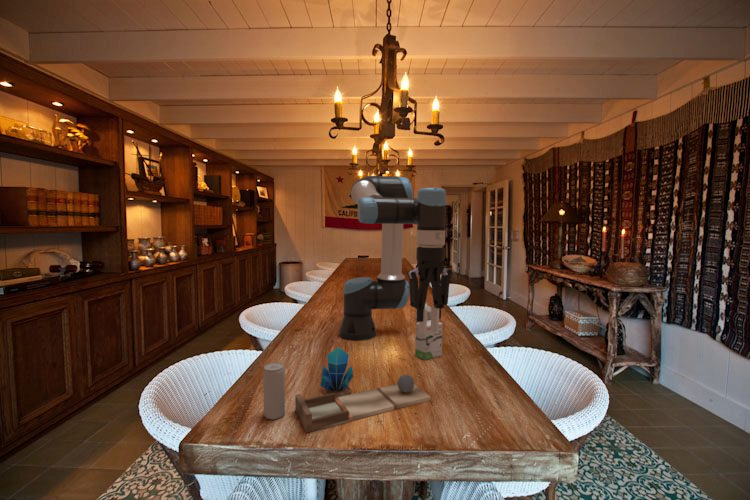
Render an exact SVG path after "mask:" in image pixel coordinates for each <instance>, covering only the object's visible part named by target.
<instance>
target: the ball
mask: <svg viewBox="0 0 750 500" xmlns="http://www.w3.org/2000/svg"><path fill="white" fill-rule="evenodd" d="M397 384H398V388H399V389H400V390H401V391H402V392H404V393H408V392H410V391H412V390H413V388H414V384H415V381H414V378H413V377H412V376H410V375H409V374H403V375H401V376H400V377H399V378H398V379H397Z"/></svg>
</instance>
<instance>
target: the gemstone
mask: <svg viewBox="0 0 750 500" xmlns="http://www.w3.org/2000/svg"><path fill="white" fill-rule="evenodd" d="M326 357H327V358H326V359H327V367H326V366H325V365H324V364H323V365H322V371H321V379H320V384H319V386H320V387H321V388H324V390H323V395H326V394H331V393H335V398H337V397H341V396H346V395H350V394H352V393H351V391H352V390H351V387H350V386H349V384H350V383H351V381H352V379H353V378H354V368H353V365H351V366H349V368H348V369H347V366H348V365H349V359H350V355H349V353H347V352H346V351H345V350H344V349H342V348H340V346H338V347H336V348H334V350H332V351H330V352H329V353H328V354H326Z"/></svg>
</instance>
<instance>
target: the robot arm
mask: <svg viewBox="0 0 750 500" xmlns="http://www.w3.org/2000/svg"><path fill="white" fill-rule="evenodd" d="M413 192H414V191H413V186H412V184H411V181H410V179H408V178H407V177H404V176H398V175H397V176H392V175H391V176H387V175H385V176H384V175H382V176H381V175H369V176H368V175H367V176H364V177H361V178H359V179H358V180H356V181H355V182H354V183H353V184H352V185H351V188H350V197H351V200H352V201H353V202H354V204H356V205H357V219H358V221H359V223H361V224H369V225H373V224H379V225H380V224H381V226H382V227H381V250H380V251H381V255H380V256H381V257H380V259H381V263H380V273H378V275H377V277H376V280H373V278H372V277H371V276H370V277H369V276H363V277H362V276H361V277H355V278H350V279H348V280H346V281H345V282H344V284H343V293H342V294H343V317H342V318H341V319H342V320H341V323H340V326H339V327H338V328H339V330H338V335H339V336H340V338H342V339H346V340H350V341H351V340H352V341H363V340H369V339H373V338H375V337H376V333H377V329H376V325H375V322H374V319H373V314H372V313H373V312H372V311H373V310H389V309H391V310H392V309H393V310H395V309H403V308H405V307H406V305H407V303H408V301H409V304H410V306H411V307H412V308H415V309H417V319H416V320H417V322H419V332H421V333H423V334H427V310H426V309H424V308H425V303H426V302H427V296H428V288H429V286H431V292H432V302H433V306H430V307H431V330H433V331H435V332H439V322H440V320H441V318H442V309H444V308H445V306H447V305H448V304H449V303H448V302H449V293H450V281H451V277H452V273H453V270H452V269H450V268H446V267H445V265H444V261H445V258H446V257H445V256H446V255H445V254H446V248H445V247H443V246H445V244H446V222H447V221H446V220H447V219H446V218H447V192H446V190H445V189H444V188H441V187H421V188H419V190H417V196H416V197H415V198H414V194H413ZM404 225H416V229H417V230H416V245H417V247H416V256H415V258H416V262H417V263H416V265H415V268H413V270H407V271H406V274H407V277H408V280H406V276H405V275H404V274H403V272H402V271H403V269H402V268H403V247H404V246H403V244H404V243H403V242H404V241H403V240H404ZM418 278H419V279H418ZM430 284H431V285H430Z"/></svg>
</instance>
